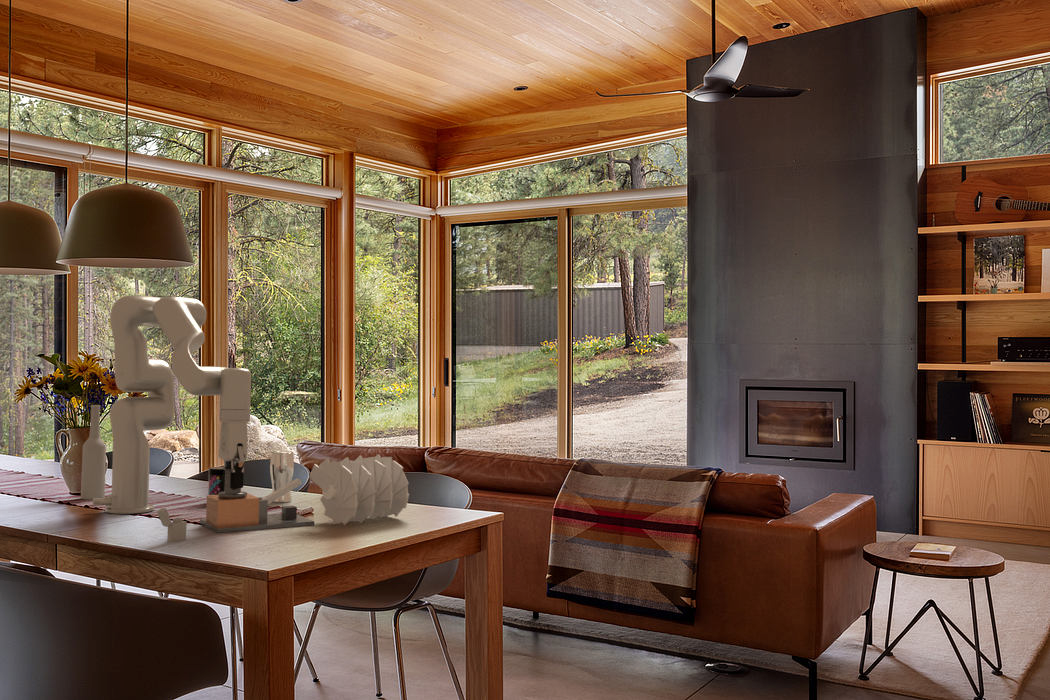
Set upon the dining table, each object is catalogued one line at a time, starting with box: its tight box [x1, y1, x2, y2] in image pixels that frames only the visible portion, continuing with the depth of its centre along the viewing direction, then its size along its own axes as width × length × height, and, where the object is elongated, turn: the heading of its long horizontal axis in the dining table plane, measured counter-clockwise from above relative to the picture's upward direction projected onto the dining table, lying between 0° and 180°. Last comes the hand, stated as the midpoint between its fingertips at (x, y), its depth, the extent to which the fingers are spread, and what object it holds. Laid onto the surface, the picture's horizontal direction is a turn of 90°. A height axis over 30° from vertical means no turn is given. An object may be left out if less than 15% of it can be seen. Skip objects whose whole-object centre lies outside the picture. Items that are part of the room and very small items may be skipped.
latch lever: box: [261, 478, 303, 505], centre depth 245 cm, size 12×2×1 cm, turn 124°
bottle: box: [80, 404, 107, 501], centre depth 280 cm, size 7×7×28 cm
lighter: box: [156, 507, 188, 543], centre depth 216 cm, size 7×2×8 cm, turn 148°
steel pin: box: [218, 469, 248, 499], centre depth 238 cm, size 7×7×13 cm
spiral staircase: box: [309, 453, 410, 526], centre depth 250 cm, size 18×18×25 cm
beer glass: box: [269, 450, 295, 504], centre depth 282 cm, size 7×7×15 cm
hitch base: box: [199, 492, 315, 534], centre depth 241 cm, size 25×16×8 cm, turn 123°
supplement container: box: [207, 466, 225, 495], centre depth 276 cm, size 7×7×10 cm
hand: (233, 485), depth 238 cm, fingers open, 5 cm apart
